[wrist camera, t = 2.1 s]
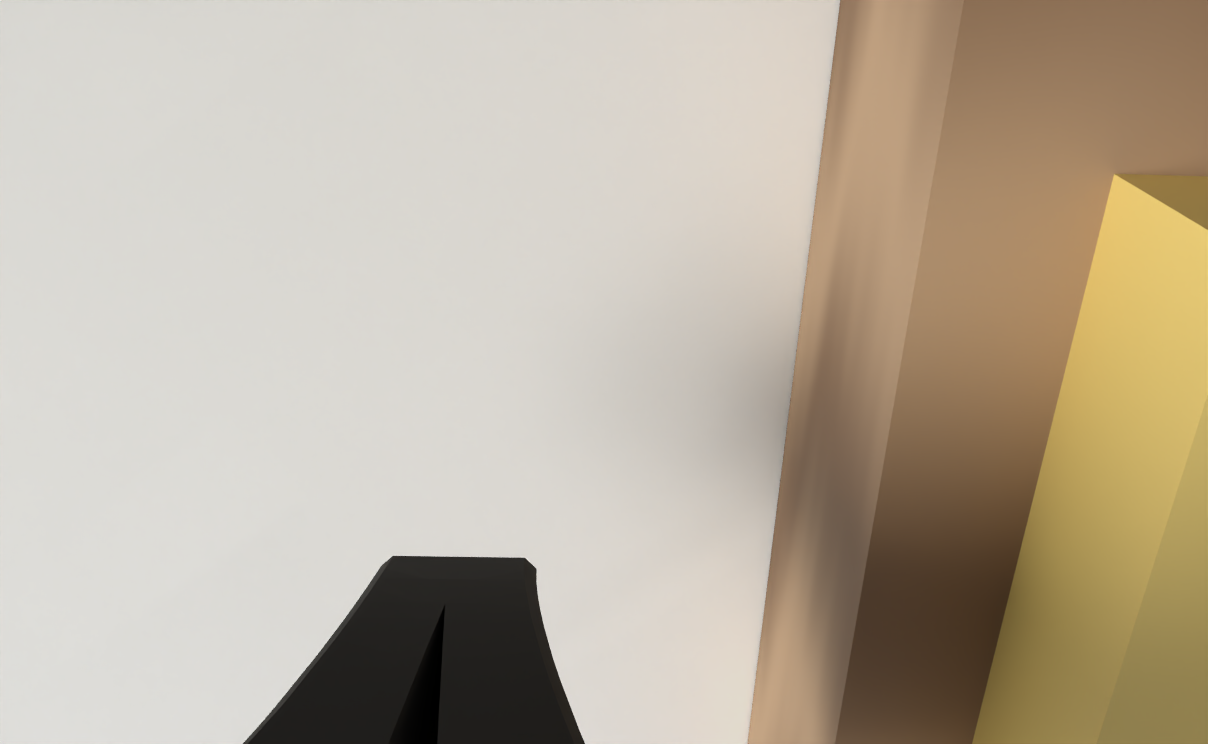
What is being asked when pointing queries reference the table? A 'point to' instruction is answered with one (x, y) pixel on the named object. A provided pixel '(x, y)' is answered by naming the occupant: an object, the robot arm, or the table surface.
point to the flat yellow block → (1120, 500)
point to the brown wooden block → (947, 335)
